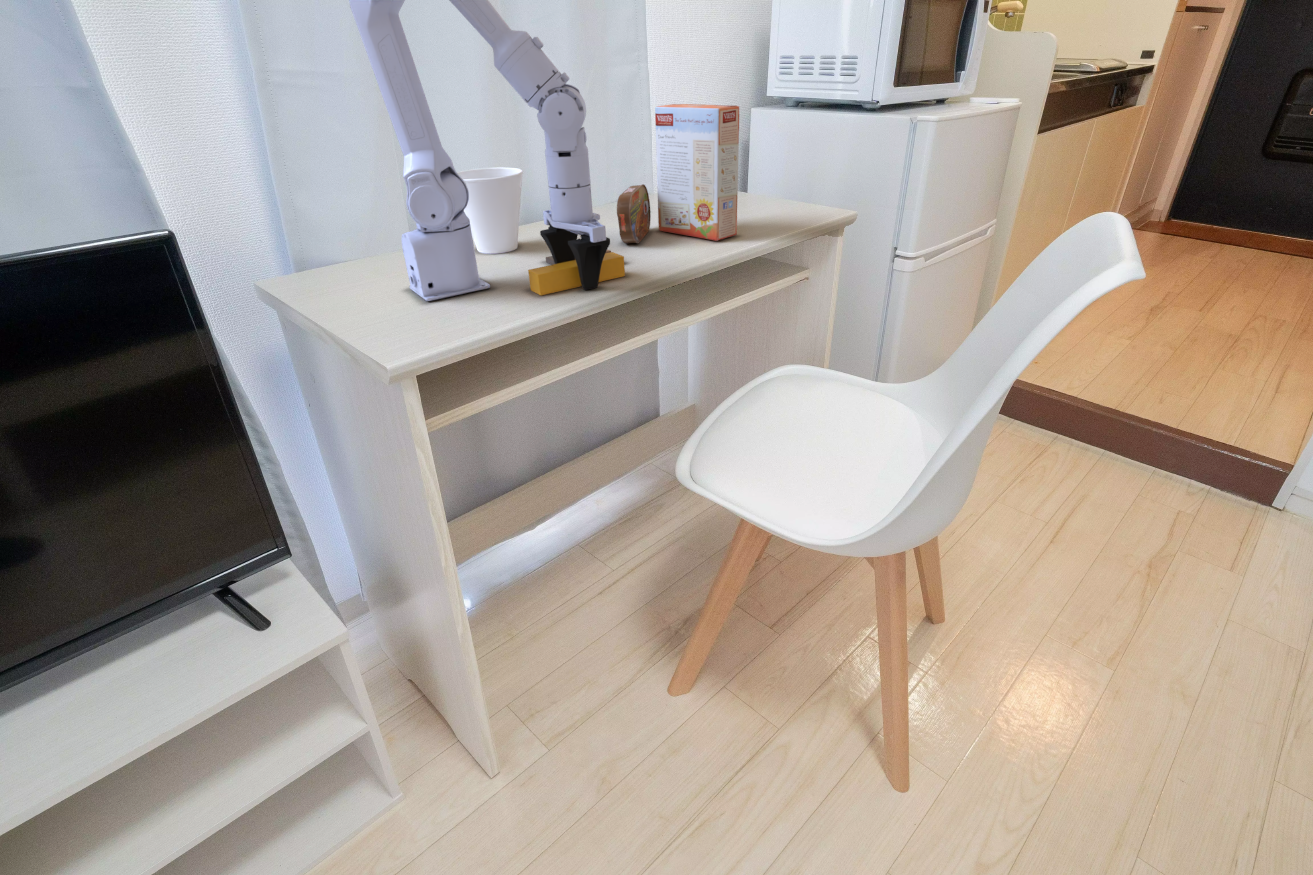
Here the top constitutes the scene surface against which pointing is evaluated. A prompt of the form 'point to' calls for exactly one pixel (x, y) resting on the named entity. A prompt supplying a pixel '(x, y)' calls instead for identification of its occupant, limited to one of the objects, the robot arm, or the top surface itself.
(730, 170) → the cracker box
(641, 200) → the tin
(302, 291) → the top surface
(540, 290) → the bar
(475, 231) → the cup
